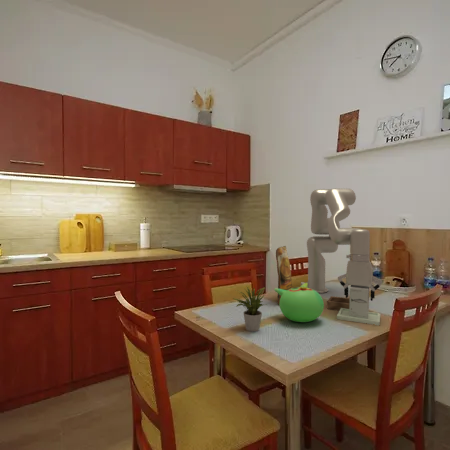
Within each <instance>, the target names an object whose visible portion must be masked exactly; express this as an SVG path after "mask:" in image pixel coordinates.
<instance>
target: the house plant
mask: <svg viewBox="0 0 450 450" xmlns="http://www.w3.org/2000/svg"><path fill="white" fill-rule="evenodd" d="M252 289H253V290H252ZM252 289H251V290H250V288H249V287H248V286H246V289H245V292H246V294H247V295H246V294H245V293H244V292H242V291H239V290H238V289H236V290H235V289H234V290H235V291H236V292H238V293H240V294H241V296H242V297H243V298H244V299H245V300H243V299H239V298H236V297H234V298H232V299H233V300H235V301H236V302H237V303H238V304H236V306H235V307H240V306H242V307H244V308H245V310H244V311H243V312H242V313H243V319H244V324H245V325H244V326H245V330H246V331H249V332H258V331H259V330H260V325H261V321H262V316H263V312H262V311H260V310H259V309H260V307H262V306H263V301H262V299H263V298H264V297H265V294H264V291H265V289H266V287H262V288H259V289H258V290H257V291H256V289H255V288H252ZM255 291H256V292H255ZM264 306H268V304H267V303H266V304H264Z"/></svg>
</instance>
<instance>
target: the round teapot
mask: <svg viewBox="0 0 450 450" xmlns="http://www.w3.org/2000/svg"><path fill="white" fill-rule="evenodd" d="M307 286H308V283H306V282H305V284H303V285H300V286H295V287H292V288H291V289H289V290H283V289H278V287H275V288H274V289H273V290H274V292H275V293H276V294H277V295H278V294H279V295H281V298H280V302H279V309H280V311H281V314H283V316H285V317H286V318H287V319H288V320H291V321H292V322H297V323H307V322H312V321H315V320H316V319H318V318H319V317H321V315H322V314H323V312H324V309H325V304H324V299H323V298H322V295H321V294H320V293H318V292H316V291H315V290H313V289H310V288H307Z"/></svg>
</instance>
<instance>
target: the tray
mask: <svg viewBox="0 0 450 450" xmlns="http://www.w3.org/2000/svg"><path fill="white" fill-rule="evenodd" d="M336 319H337V320H342V321H349V322H353V323H354V322H355V323H361V324H366V323H367V325H373V324H375V325H374V326H379V325H380V323H381V312H380V313H379V312H373V311H369V314H368V319H363V318H356V317H349V309H345V308H341V309H340V310H338V313H337V314H336Z"/></svg>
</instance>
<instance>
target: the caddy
mask: <svg viewBox="0 0 450 450" xmlns="http://www.w3.org/2000/svg"><path fill="white" fill-rule="evenodd" d="M326 304H327V305H326V309H327V310H332V311H333V310H334V311H340V309H341V308H345V309H349V305H350V297H349V298H346V297H340V296H333V295H331V296H330V297H329V298H328V300H327V301H326Z"/></svg>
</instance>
